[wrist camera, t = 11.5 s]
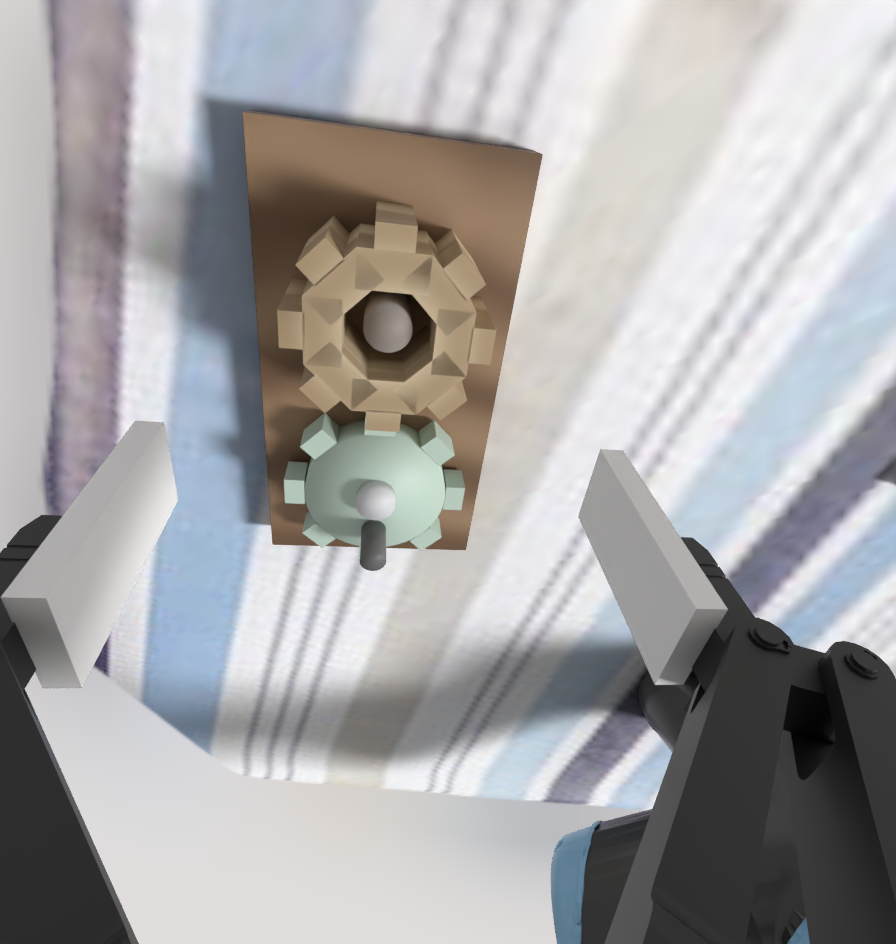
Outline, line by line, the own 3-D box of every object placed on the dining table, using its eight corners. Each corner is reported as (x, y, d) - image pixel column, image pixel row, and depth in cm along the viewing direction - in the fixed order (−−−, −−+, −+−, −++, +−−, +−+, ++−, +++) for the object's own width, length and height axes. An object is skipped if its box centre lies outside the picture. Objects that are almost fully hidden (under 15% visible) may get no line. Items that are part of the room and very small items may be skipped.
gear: (449, 543, 40) (456, 594, 36) (291, 538, 39) (280, 591, 35) (472, 408, 34) (484, 451, 30) (285, 395, 32) (271, 439, 28)
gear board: (462, 532, 43) (472, 589, 38) (277, 526, 41) (262, 585, 36) (533, 150, 28) (564, 163, 24) (251, 110, 26) (221, 115, 21)
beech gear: (466, 394, 34) (476, 436, 30) (295, 382, 32) (282, 425, 28) (494, 216, 28) (513, 237, 24) (289, 190, 27) (272, 209, 23)
